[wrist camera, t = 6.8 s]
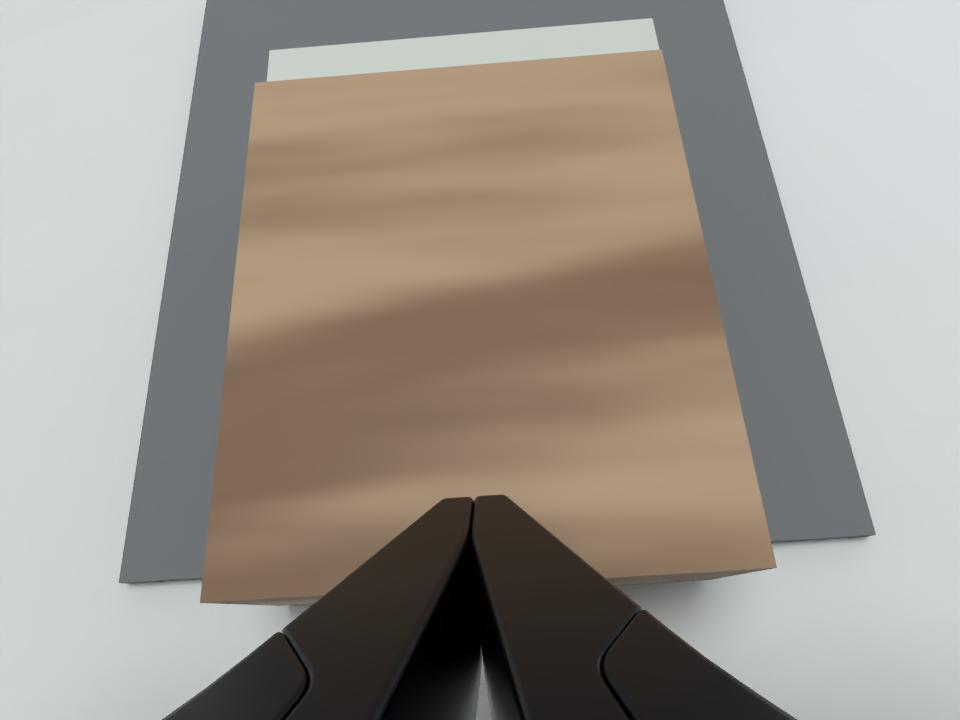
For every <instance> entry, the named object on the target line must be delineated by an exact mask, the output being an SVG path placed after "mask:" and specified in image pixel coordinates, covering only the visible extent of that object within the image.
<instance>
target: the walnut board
mask: <svg viewBox="0 0 960 720" xmlns="http://www.w3.org/2000/svg"><path fill="white" fill-rule="evenodd" d="M500 494H502V495H505V496H507V497H508V498H510V499H511V500H512V501H513V502H515V503H516V504H517V505H518V506H519V507H521V508H522V509H523V510H524V511H525V512H527V513H528V514H529V515H530V516H531V517H533V518H534V519H535V520H536V521H537V522H539V523H540V524H541V525H542V526H543V527H545V528H546V529H547V530H548V531H549V532H551V533H552V534H553V535H554V536H555V537H557V538H558V539H559V540H560V541H561V542H563V543H564V544H565V545H566V546H568V547H569V548H570V549H571V550H572V551H574V552H575V553H576V554H577V555H578V556H580V557H581V558H582V559H583V560H584V561H586V562H587V563H588V564H589V565H590V566H592V567H593V568H594V569H595V570H596V571H598V572H599V573H600V574H601V575H602V576H604V577H605V578H606V579H607V580H608V581H610V582H611V583H612V584H613V585H628V584H645V583H661V582H678V581H694V580H710V579H716V578H721V577H727V576H733V575H738V574H744V573H750V572H755V571H761V570H767V569H772V568H777V567H776V562H775V558H774V553H773V549H772V544H771V540H770V535H769V531H768V526H767V522H766V517H765V513H764V508H763V504H762V499H761V494H760V490H759V485H758V481H757V476H756V472H755V467H754V463H753V458H752V454H751V449H750V445H749V440H748V436H747V431H746V427H745V422H744V418H743V413H742V409H741V404H740V400H739V395H738V391H737V386H736V382H735V377H734V373H733V368H732V364H731V359H730V355H729V350H728V346H727V341H726V337H725V332H724V328H723V323H722V319H721V314H720V310H719V305H718V301H717V296H716V292H715V287H714V283H713V278H712V274H711V269H710V265H709V260H708V256H707V251H706V247H705V242H704V238H703V233H702V229H701V224H700V220H699V215H698V211H697V206H696V202H695V197H694V193H693V188H692V184H691V179H690V175H689V170H688V166H687V161H686V157H685V152H684V148H683V143H682V139H681V134H680V130H679V125H678V121H677V116H676V112H675V107H674V103H673V98H672V94H671V89H670V85H669V80H668V76H667V71H666V67H665V62H664V58H663V53H662V49H661V50H648V51H636V52H624V53H612V54H599V55H587V56H575V57H563V58H550V59H538V60H526V61H513V62H501V63H489V64H477V65H464V66H452V67H440V68H428V69H415V70H403V71H391V72H379V73H366V74H354V75H342V76H329V77H317V78H305V79H293V80H280V81H268V82H256V83H255V86H254V95H253V105H252V114H251V124H250V133H249V143H248V152H247V162H246V171H245V181H244V190H243V200H242V209H241V219H240V228H239V238H238V247H237V257H236V266H235V276H234V285H233V295H232V304H231V314H230V323H229V333H228V342H227V352H226V361H225V371H224V380H223V390H222V399H221V409H220V418H219V428H218V437H217V447H216V456H215V466H214V475H213V485H212V494H211V504H210V513H209V523H208V532H207V542H206V551H205V561H204V570H203V580H202V589H201V599H200V603H220V604H248V605H276V606H281V605H297V604H314V603H315V602H317V601H318V600H319V599H320V598H322V597H323V596H324V595H325V594H327V593H328V592H329V591H330V590H331V589H333V588H334V587H335V586H336V585H338V584H339V583H340V582H341V581H342V580H344V579H345V578H346V577H347V576H349V575H350V574H351V573H352V572H354V571H355V570H356V569H357V568H358V567H360V566H361V565H362V564H363V563H365V562H366V561H367V560H368V559H369V558H371V557H372V556H373V555H374V554H376V553H377V552H378V551H379V550H381V549H382V548H383V547H384V546H385V545H387V544H388V543H389V542H390V541H392V540H393V539H394V538H395V537H396V536H398V535H399V534H400V533H401V532H403V531H404V530H405V529H406V528H408V527H409V526H410V525H411V524H412V523H414V522H415V521H416V520H417V519H419V518H420V517H421V516H422V515H423V514H425V513H426V512H427V511H428V510H430V509H431V508H432V507H433V506H434V505H436V504H437V503H438V502H439V501H441V500H442V499H445V498H455V497H471V498H472V499H473V500H475V498H476V497H478V496H485V495H500Z"/></svg>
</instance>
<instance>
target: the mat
mask: <svg viewBox="0 0 960 720" xmlns="http://www.w3.org/2000/svg"><path fill="white" fill-rule="evenodd" d="M661 49H662V53H663V58H664V62H665V67H666V71H667V76H668V80H669V85H670V89H671V94H672V98H673V103H674V107H675V112H676V116H677V121H678V125H679V130H680V134H681V139H682V143H683V148H684V152H685V157H686V161H687V166H688V170H689V175H690V179H691V184H692V188H693V193H694V197H695V202H696V206H697V211H698V215H699V220H700V224H701V229H702V233H703V238H704V242H705V247H706V251H707V256H708V260H709V265H710V269H711V274H712V278H713V283H714V287H715V292H716V296H717V301H718V305H719V310H720V314H721V319H722V323H723V328H724V332H725V337H726V341H727V346H728V350H729V355H730V359H731V364H732V368H733V373H734V377H735V382H736V386H737V391H738V395H739V400H740V404H741V409H742V413H743V418H744V422H745V427H746V431H747V436H748V440H749V445H750V449H751V454H752V458H753V463H754V467H755V472H756V476H757V481H758V485H759V490H760V494H761V499H762V504H763V508H764V513H765V517H766V522H767V526H768V531H769V535H770V540H771V543H773V542H789V541H804V540H820V539H836V538H852V537H867V536H872V535H876V534H875V530H874V527H873V523H872V520H871V516H870V513H869V509H868V506H867V502H866V499H865V495H864V492H863V488H862V485H861V481H860V478H859V474H858V471H857V467H856V464H855V460H854V457H853V453H852V450H851V446H850V443H849V439H848V436H847V432H846V429H845V425H844V422H843V418H842V415H841V411H840V408H839V404H838V401H837V397H836V394H835V390H834V387H833V383H832V380H831V376H830V373H829V369H828V366H827V362H826V359H825V355H824V352H823V348H822V345H821V341H820V338H819V334H818V331H817V327H816V324H815V320H814V317H813V313H812V310H811V306H810V303H809V299H808V296H807V292H806V289H805V285H804V282H803V278H802V275H801V271H800V268H799V264H798V261H797V257H796V254H795V250H794V247H793V243H792V240H791V236H790V233H789V229H788V226H787V222H786V219H785V215H784V212H783V208H782V205H781V201H780V198H779V194H778V191H777V187H776V184H775V180H774V177H773V173H772V170H771V166H770V163H769V159H768V156H767V152H766V149H765V145H764V142H763V138H762V135H761V131H760V128H759V124H758V121H757V117H756V114H755V110H754V107H753V103H752V100H751V96H750V93H749V89H748V86H747V82H746V79H745V75H744V72H743V68H742V65H741V61H740V58H739V54H738V51H737V47H736V44H735V40H734V37H733V33H732V30H731V26H730V23H729V19H728V16H727V12H726V9H725V5H724V2H723V0H207V2H206V8H205V15H204V22H203V28H202V35H201V42H200V48H199V55H198V62H197V68H196V75H195V81H194V88H193V95H192V101H191V108H190V115H189V121H188V128H187V134H186V141H185V148H184V154H183V161H182V168H181V174H180V181H179V187H178V194H177V201H176V207H175V214H174V221H173V227H172V234H171V240H170V247H169V254H168V260H167V267H166V274H165V280H164V287H163V293H162V300H161V307H160V313H159V320H158V327H157V333H156V340H155V347H154V353H153V360H152V366H151V373H150V380H149V386H148V393H147V400H146V406H145V413H144V419H143V426H142V433H141V439H140V446H139V453H138V459H137V466H136V472H135V479H134V486H133V492H132V499H131V506H130V512H129V519H128V525H127V532H126V539H125V545H124V552H123V559H122V565H121V572H120V578H119V583H144V582H160V581H175V580H191V579H203V570H204V561H205V551H206V542H207V532H208V523H209V513H210V504H211V494H212V485H213V475H214V466H215V456H216V447H217V437H218V428H219V418H220V409H221V399H222V390H223V380H224V371H225V361H226V352H227V342H228V333H229V323H230V314H231V304H232V295H233V285H234V276H235V266H236V257H237V247H238V238H239V228H240V219H241V209H242V200H243V190H244V181H245V171H246V162H247V152H248V143H249V133H250V124H251V114H252V105H253V95H254V86H255V83H256V82H268V81H280V80H293V79H305V78H317V77H329V76H342V75H354V74H366V73H379V72H391V71H403V70H415V69H428V68H440V67H452V66H464V65H477V64H489V63H501V62H513V61H526V60H538V59H550V58H563V57H575V56H587V55H599V54H612V53H624V52H636V51H648V50H661Z"/></svg>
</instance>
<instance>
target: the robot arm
mask: <svg viewBox="0 0 960 720" xmlns="http://www.w3.org/2000/svg"><path fill="white" fill-rule="evenodd" d="M482 655H483V664H484V672H485V679H486V685H487V691H488V697H489V703H490V709H491V715H492V720H797V719H795V718H794V717H792V716H791V715H789V714H788V713H786V712H785V711H783V710H782V709H780V708H779V707H777V706H776V705H774V704H773V703H771V702H770V701H768V700H767V699H765V698H764V697H762V696H761V695H759V694H758V693H756V692H755V691H753V690H752V689H750V688H749V687H747V686H746V685H745V684H743V683H742V682H740V681H739V680H737V679H736V678H734V677H733V676H732V675H730V674H729V673H727V672H726V671H724V670H723V669H721V668H720V667H719V666H717V665H716V664H714V663H713V662H711V661H710V660H709V659H707V658H706V657H704V656H703V655H702V654H701V653H699V652H698V651H697V650H695V649H694V648H693V647H691V646H690V645H689V644H688V643H686V642H685V641H684V640H682V639H681V638H680V637H679V636H677V635H676V634H675V633H673V632H672V631H671V630H670V629H668V628H667V627H666V626H665V625H663V624H662V623H661V622H660V621H659V620H657V619H656V618H655V617H654V616H652V615H651V614H650V613H649V612H648V611H646V610H642V609H641V607H640V606H639V605H637V604H636V603H635V602H634V601H633V600H631V599H630V598H629V597H628V596H627V595H625V594H624V593H623V592H622V591H620V590H619V589H618V588H617V587H616V586H614V585H613V584H612V583H611V582H610V581H608V580H607V579H606V578H605V577H604V576H602V575H601V574H600V573H599V572H598V571H596V570H595V569H594V568H593V567H592V566H590V565H589V564H588V563H587V562H586V561H584V560H583V559H582V558H581V557H580V556H578V555H577V554H576V553H575V552H574V551H572V550H571V549H570V548H569V547H568V546H566V545H565V544H564V543H563V542H561V541H560V540H559V539H558V538H557V537H555V536H554V535H553V534H552V533H551V532H549V531H548V530H547V529H546V528H545V527H543V526H542V525H541V524H540V523H539V522H537V521H536V520H535V519H534V518H533V517H531V516H530V515H529V514H528V513H527V512H525V511H524V510H523V509H522V508H521V507H519V506H518V505H517V504H516V503H515V502H513V501H512V500H511V499H510V498H508V497H507V496H505V495H502V494H500V495H485V496H478V497H476V498H475V500H473V499H472V498H471V497H455V498H445V499H442V500H441V501H439V502H438V503H437V504H436V505H434V506H433V507H432V508H431V509H430V510H428V511H427V512H426V513H425V514H423V515H422V516H421V517H420V518H419V519H417V520H416V521H415V522H414V523H412V524H411V525H410V526H409V527H408V528H406V529H405V530H404V531H403V532H401V533H400V534H399V535H398V536H396V537H395V538H394V539H393V540H392V541H390V542H389V543H388V544H387V545H385V546H384V547H383V548H382V549H381V550H379V551H378V552H377V553H376V554H374V555H373V556H372V557H371V558H369V559H368V560H367V561H366V562H365V563H363V564H362V565H361V566H360V567H358V568H357V569H356V570H355V571H354V572H352V573H351V574H350V575H349V576H347V577H346V578H345V579H344V580H342V581H341V582H340V583H339V584H338V585H336V586H335V587H334V588H333V589H331V590H330V591H329V592H328V593H327V594H325V595H324V596H323V597H322V598H320V599H319V600H318V601H317V602H315V603H314V604H313V605H312V606H311V607H309V608H308V609H307V610H306V611H304V612H303V613H302V614H301V615H300V616H298V617H297V618H296V619H295V620H293V621H292V622H291V623H290V624H288V625H287V626H286V627H285V628H284V629H283V630H282V633H280V632H278V633H275V634H274V635H273V636H272V637H271V638H269V639H268V640H267V641H266V642H264V643H263V644H262V645H261V646H259V647H258V648H257V649H256V650H254V651H253V652H252V653H251V654H250V655H248V656H247V657H246V658H244V659H243V660H242V661H240V662H239V663H238V664H237V665H235V666H234V667H233V668H231V669H230V670H229V671H228V672H226V673H225V674H224V675H222V676H221V677H220V678H219V679H217V680H216V681H215V682H213V683H212V684H211V685H209V686H208V687H207V688H206V689H204V690H203V691H201V692H200V693H199V694H197V695H196V696H194V697H193V698H192V699H190V700H189V701H187V702H186V703H185V704H183V705H182V706H180V707H179V708H178V709H176V710H175V711H173V712H172V713H171V714H169V715H168V716H166V717H165V718H164V719H162V720H475V719H476V710H477V702H478V693H479V685H480V674H481V662H482Z"/></svg>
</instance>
